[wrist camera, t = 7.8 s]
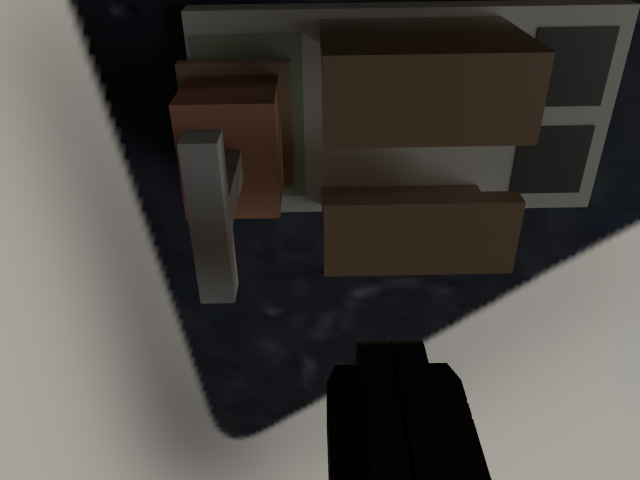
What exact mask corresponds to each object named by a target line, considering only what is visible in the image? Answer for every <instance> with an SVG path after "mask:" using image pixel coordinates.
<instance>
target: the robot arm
mask: <svg viewBox="0 0 640 480" xmlns="http://www.w3.org/2000/svg"><path fill="white" fill-rule="evenodd" d="M327 442H328V472H329V480H491V477H490V474H489V471H488V467H487V464H486V461H485V457H484V454H483V451H482V447H481V444H480V441H479V438H478V434H477V431H476V428H475V424H474V421H473V419H472V414H471V411H470V408H469V404H468V403H467V398H466V395H465V391H464V388H463V385H462V382H461V379H460V378H459V377H458V376H457V374H456V373H455V372H454V371H453V370H452V369H451V367H450V366H449V365H448V364H447V363H428V358H427V354H426V351H425V346H424V343H423V341H422V340H413V341H390V344H389V342H388V341H371V342H357V344H356V365H335V367H334V369H333V371H332V373H331V375H330V377H329V379H328V381H327Z"/></svg>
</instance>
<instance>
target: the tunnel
mask: <svg viewBox="0 0 640 480" xmlns="http://www.w3.org/2000/svg"><path fill="white" fill-rule="evenodd" d="M639 8H640V4H638V3H635V2H632V1H630V0H499V1H431V2H363V3H296V4H228V5H187V6H186V7H185V8H184V9H183V10H182V11H181V15H182V22H183V30H184V38H185V46H186V53H187V60H203V59H268V58H290V69H291V96H292V122H293V149H294V175H295V183H294V187H283V190H282V202H281V212H317V211H322V229H323V256H324V276H378V275H434V274H490V273H512V270H513V265H514V260H515V255H516V250H517V245H518V240H519V235H520V230H521V225H522V220H523V215H524V209H525V208H549V207H588V203H589V200H590V196H591V192H592V188H593V184H594V180H595V177H596V173H597V169H598V165H599V161H600V157H601V154H602V150H603V146H604V142H605V138H606V134H607V131H608V127H609V123H610V119H611V115H612V111H613V108H614V104H615V100H616V96H617V92H618V88H619V85H620V81H621V77H622V73H623V69H624V65H625V62H626V58H627V54H628V50H629V46H630V42H631V39H632V35H633V31H634V27H635V23H636V19H637V16H638V12H639Z"/></svg>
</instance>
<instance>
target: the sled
mask: <svg viewBox="0 0 640 480" xmlns="http://www.w3.org/2000/svg"><path fill="white" fill-rule="evenodd" d="M175 70H176V77H177V85H178V92H177V93H176V95H175V96H174V98H173V99H172V101H171V103H170V104H169V110H170V117H171V123H172V130H173V137H174V143H175V150H176V156H177V163H178V169H179V176H180V183H181V189H182V196H183V202H184V209H185V216H186V220H188V222H189V228H190V235H191V242H192V248H193V255H194V262H195V268H196V275H197V282H198V288H199V295H200V302H201V303H235V298H236V293H237V287H238V276H237V266H236V257H235V247H234V238H233V228H232V227H233V222H234V219H251V218H280V213H281V202H282V190H283V187H294V183H295V175H294V149H293V122H292V96H291V69H290V58H268V59H203V60H178V61H177V62H176V64H175Z"/></svg>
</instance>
